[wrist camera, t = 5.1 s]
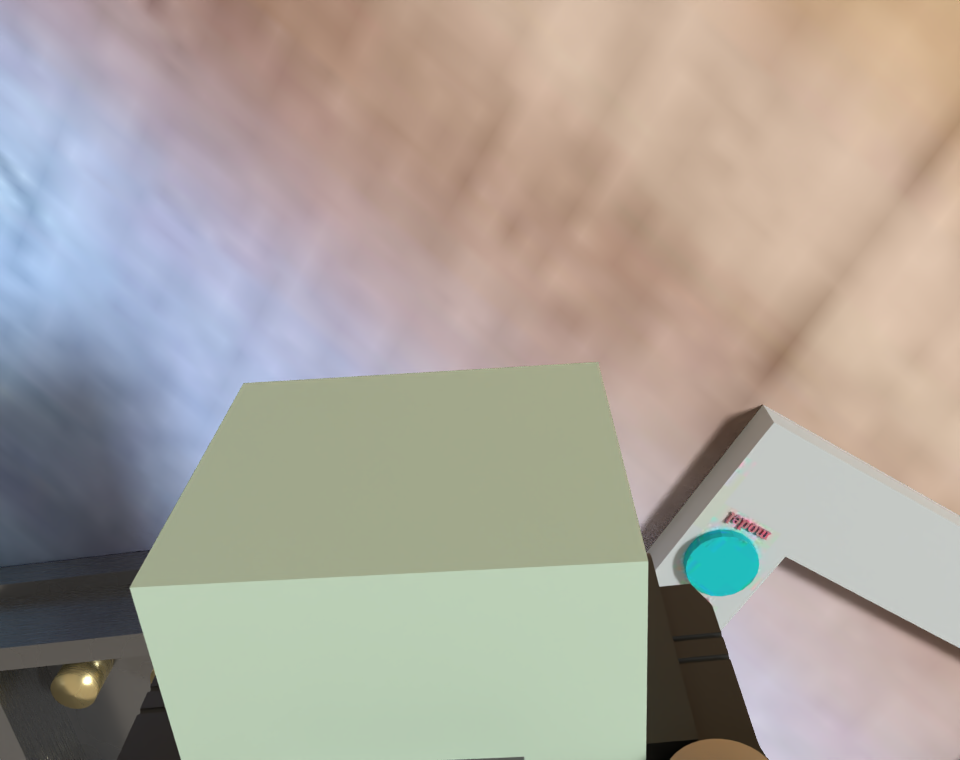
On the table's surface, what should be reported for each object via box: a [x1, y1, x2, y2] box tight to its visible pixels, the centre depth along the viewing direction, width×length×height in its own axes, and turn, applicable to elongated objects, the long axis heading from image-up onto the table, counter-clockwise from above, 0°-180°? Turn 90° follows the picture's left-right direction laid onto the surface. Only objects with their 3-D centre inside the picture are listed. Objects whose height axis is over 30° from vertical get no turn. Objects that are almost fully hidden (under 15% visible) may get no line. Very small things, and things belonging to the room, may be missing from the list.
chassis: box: [0, 551, 156, 760], centre depth 30 cm, size 12×16×4 cm
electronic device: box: [646, 405, 960, 648], centre depth 31 cm, size 18×2×15 cm
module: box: [130, 362, 648, 760], centre depth 12 cm, size 8×5×5 cm, turn 4°
